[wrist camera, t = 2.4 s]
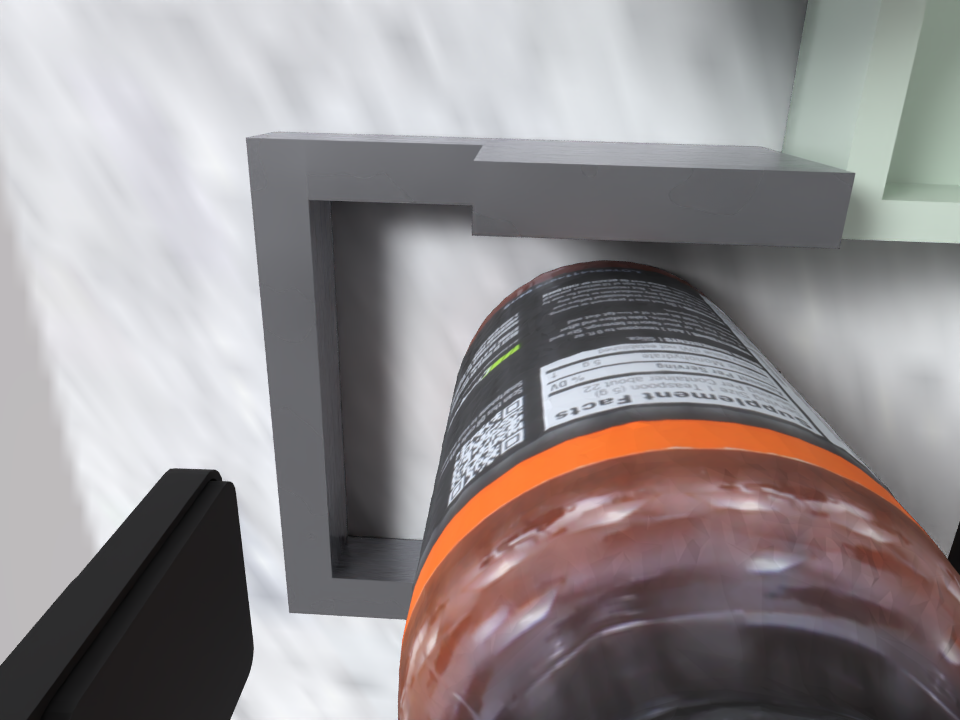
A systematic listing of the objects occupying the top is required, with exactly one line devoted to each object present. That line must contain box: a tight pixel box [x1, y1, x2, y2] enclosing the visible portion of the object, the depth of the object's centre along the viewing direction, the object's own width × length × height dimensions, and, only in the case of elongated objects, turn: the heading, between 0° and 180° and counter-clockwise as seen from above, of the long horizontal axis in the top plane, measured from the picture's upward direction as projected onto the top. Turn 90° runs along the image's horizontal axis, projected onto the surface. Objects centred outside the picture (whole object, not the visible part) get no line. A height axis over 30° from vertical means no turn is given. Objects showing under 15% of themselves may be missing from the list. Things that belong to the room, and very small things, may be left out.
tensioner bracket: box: [246, 132, 855, 620], centre depth 13 cm, size 9×10×4 cm
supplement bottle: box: [398, 260, 960, 720], centre depth 10 cm, size 6×6×11 cm
